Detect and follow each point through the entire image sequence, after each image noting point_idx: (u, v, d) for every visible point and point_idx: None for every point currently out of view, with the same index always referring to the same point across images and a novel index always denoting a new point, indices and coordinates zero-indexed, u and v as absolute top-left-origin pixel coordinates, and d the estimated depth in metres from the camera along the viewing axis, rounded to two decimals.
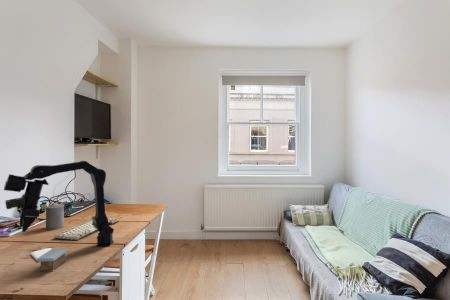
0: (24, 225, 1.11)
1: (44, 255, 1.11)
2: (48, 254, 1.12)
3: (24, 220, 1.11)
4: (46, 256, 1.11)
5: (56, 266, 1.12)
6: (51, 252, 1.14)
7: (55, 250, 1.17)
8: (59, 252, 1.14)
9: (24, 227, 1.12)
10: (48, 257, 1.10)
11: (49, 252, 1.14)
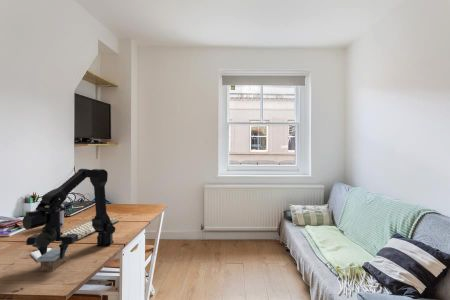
0: (63, 252, 1.13)
1: (44, 255, 1.11)
2: (48, 254, 1.12)
3: (63, 248, 1.13)
4: (46, 256, 1.11)
5: (56, 266, 1.12)
6: (51, 252, 1.14)
7: (55, 250, 1.17)
8: (59, 252, 1.14)
9: (62, 254, 1.14)
10: (48, 257, 1.10)
11: (49, 252, 1.14)
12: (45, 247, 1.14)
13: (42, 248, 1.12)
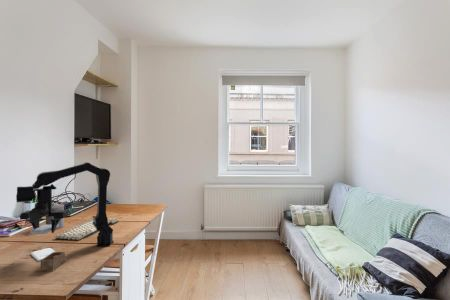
0: (54, 227, 1.23)
1: (36, 229, 1.21)
2: (40, 228, 1.22)
3: (55, 222, 1.23)
4: (38, 229, 1.20)
5: (56, 266, 1.12)
6: (43, 227, 1.24)
7: (47, 225, 1.26)
8: (50, 227, 1.24)
9: (54, 228, 1.23)
10: (40, 230, 1.19)
11: (41, 227, 1.24)
12: (37, 222, 1.24)
13: (35, 223, 1.22)
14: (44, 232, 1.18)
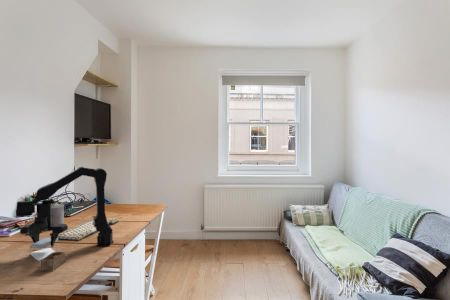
0: (53, 241, 1.25)
1: (36, 243, 1.23)
2: (39, 242, 1.24)
3: (54, 236, 1.24)
4: (38, 243, 1.22)
5: (56, 266, 1.12)
6: (43, 241, 1.26)
7: (46, 239, 1.28)
8: (50, 240, 1.26)
9: (53, 242, 1.25)
10: (39, 244, 1.21)
11: (41, 240, 1.26)
12: (37, 236, 1.26)
13: (34, 237, 1.24)
14: (43, 246, 1.20)
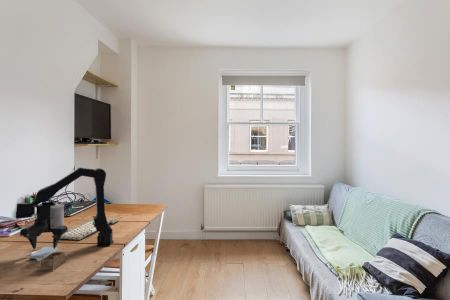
0: (56, 242, 1.25)
1: (36, 252, 1.23)
2: (39, 252, 1.24)
3: (56, 238, 1.24)
4: (37, 253, 1.22)
5: (56, 266, 1.12)
6: (43, 250, 1.26)
7: (46, 248, 1.28)
8: (50, 250, 1.26)
9: (55, 244, 1.25)
10: (39, 254, 1.21)
11: (41, 250, 1.26)
12: (35, 238, 1.26)
13: (32, 239, 1.24)
14: (43, 256, 1.20)
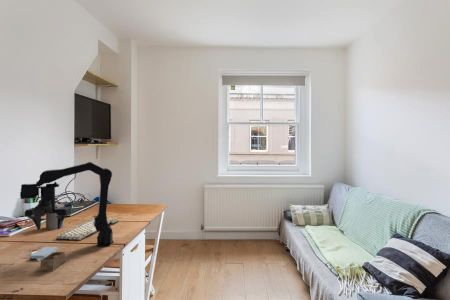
0: (60, 223, 1.27)
1: (36, 252, 1.23)
2: (39, 252, 1.24)
3: (60, 219, 1.26)
4: (37, 253, 1.22)
5: (56, 266, 1.12)
6: (43, 250, 1.26)
7: (46, 248, 1.28)
8: (50, 250, 1.26)
9: (60, 225, 1.27)
10: (39, 254, 1.21)
11: (41, 250, 1.26)
12: (39, 219, 1.28)
13: (36, 219, 1.26)
14: (43, 256, 1.20)
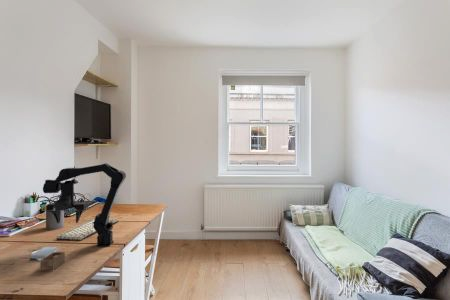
0: (78, 217, 1.36)
1: (36, 252, 1.23)
2: (40, 252, 1.24)
3: (79, 213, 1.35)
4: (38, 253, 1.22)
5: (56, 266, 1.12)
6: (43, 250, 1.26)
7: (47, 248, 1.28)
8: (50, 250, 1.26)
9: (78, 219, 1.36)
10: (39, 254, 1.21)
11: (41, 250, 1.26)
12: (59, 213, 1.37)
13: (56, 213, 1.35)
14: (43, 256, 1.20)
